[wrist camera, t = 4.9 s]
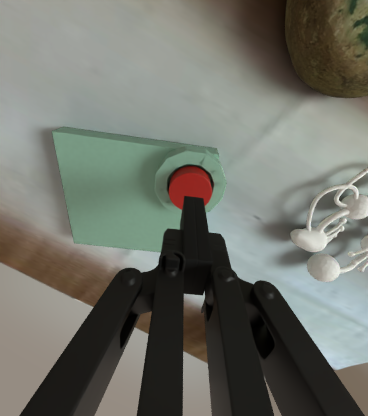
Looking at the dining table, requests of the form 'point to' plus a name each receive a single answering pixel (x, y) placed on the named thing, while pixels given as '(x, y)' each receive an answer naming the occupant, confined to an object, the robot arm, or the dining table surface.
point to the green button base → (126, 186)
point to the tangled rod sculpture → (333, 232)
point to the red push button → (189, 185)
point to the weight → (329, 45)
